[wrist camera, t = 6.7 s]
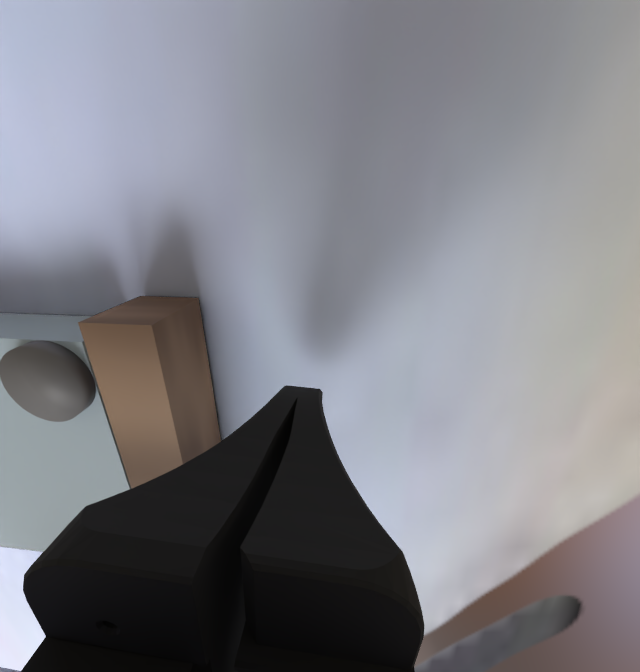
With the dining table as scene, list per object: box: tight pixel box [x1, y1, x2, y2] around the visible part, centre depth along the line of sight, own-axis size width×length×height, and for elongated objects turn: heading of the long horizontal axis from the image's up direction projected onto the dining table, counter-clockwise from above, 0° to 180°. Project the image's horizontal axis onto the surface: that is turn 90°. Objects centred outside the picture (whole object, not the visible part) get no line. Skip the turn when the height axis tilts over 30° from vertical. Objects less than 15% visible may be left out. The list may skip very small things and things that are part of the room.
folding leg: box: [78, 296, 221, 489], centre depth 14 cm, size 14×2×3 cm, turn 0°
